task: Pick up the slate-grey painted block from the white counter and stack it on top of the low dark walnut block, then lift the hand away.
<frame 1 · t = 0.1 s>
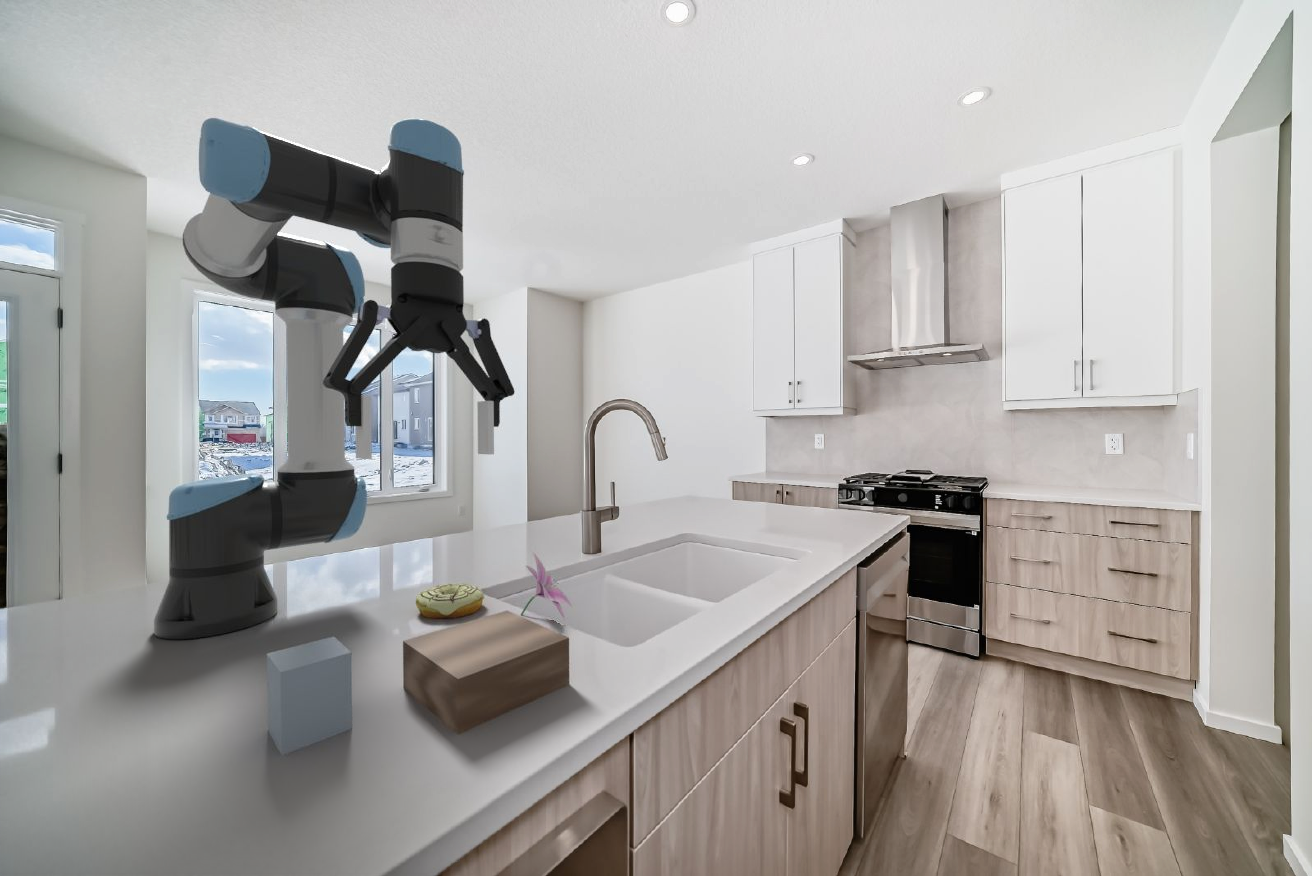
hand: (429, 456, 58), 28 cm above the countertop, fingers open, 13 cm apart
lily: (546, 615, 86), on the countertop
walnut block: (486, 688, 62), on the countertop
decorated donut: (450, 612, 88), on the countertop
slate block: (310, 729, 53), on the countertop
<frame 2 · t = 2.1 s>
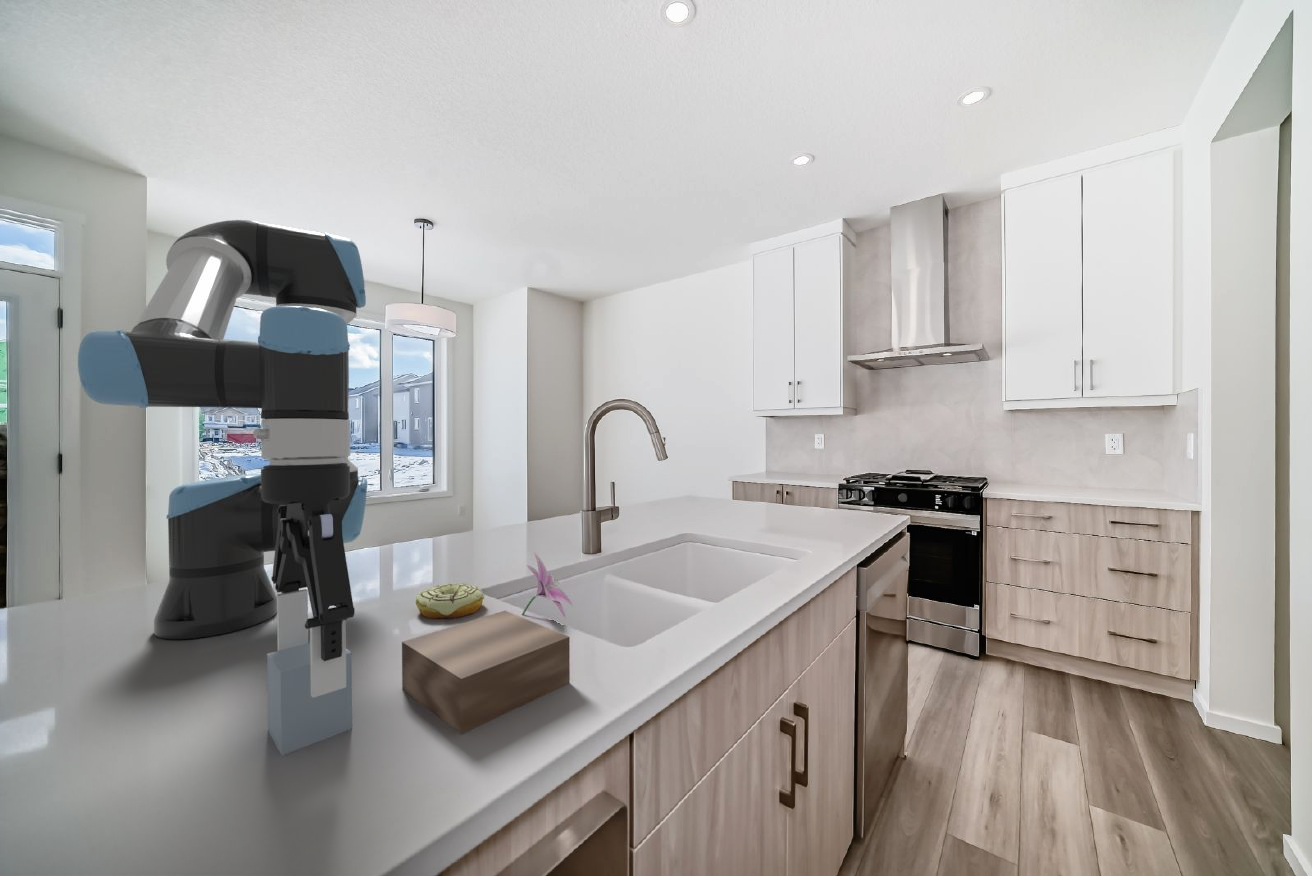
hand: (309, 669, 53), 6 cm above the countertop, fingers open, 13 cm apart
nothing on the countertop moved.
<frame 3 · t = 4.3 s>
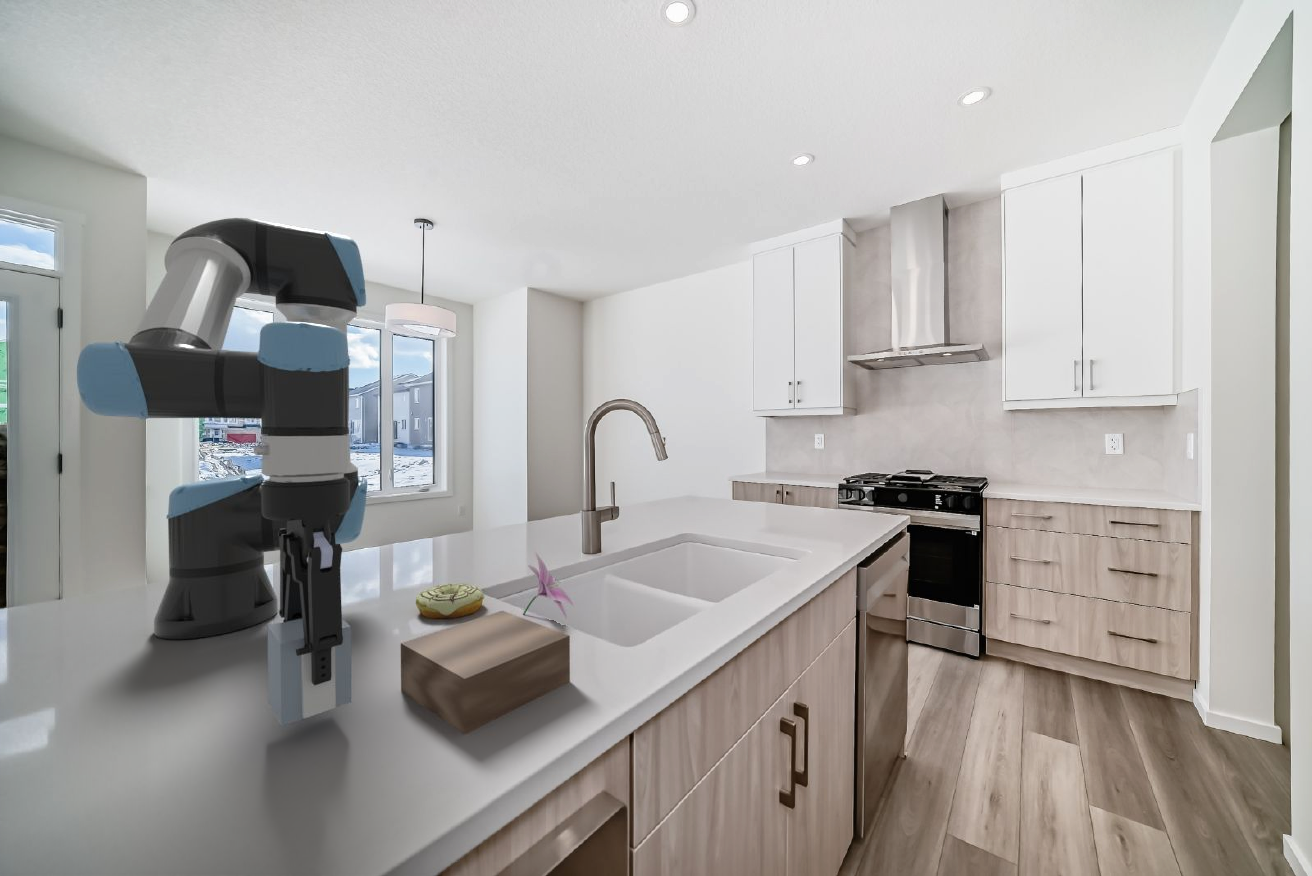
hand: (310, 698, 53), 3 cm above the countertop, fingers closed on slate block, 6 cm apart
slate block: (310, 702, 53), point 3 cm above the countertop, touching gripper
everything else where it was.
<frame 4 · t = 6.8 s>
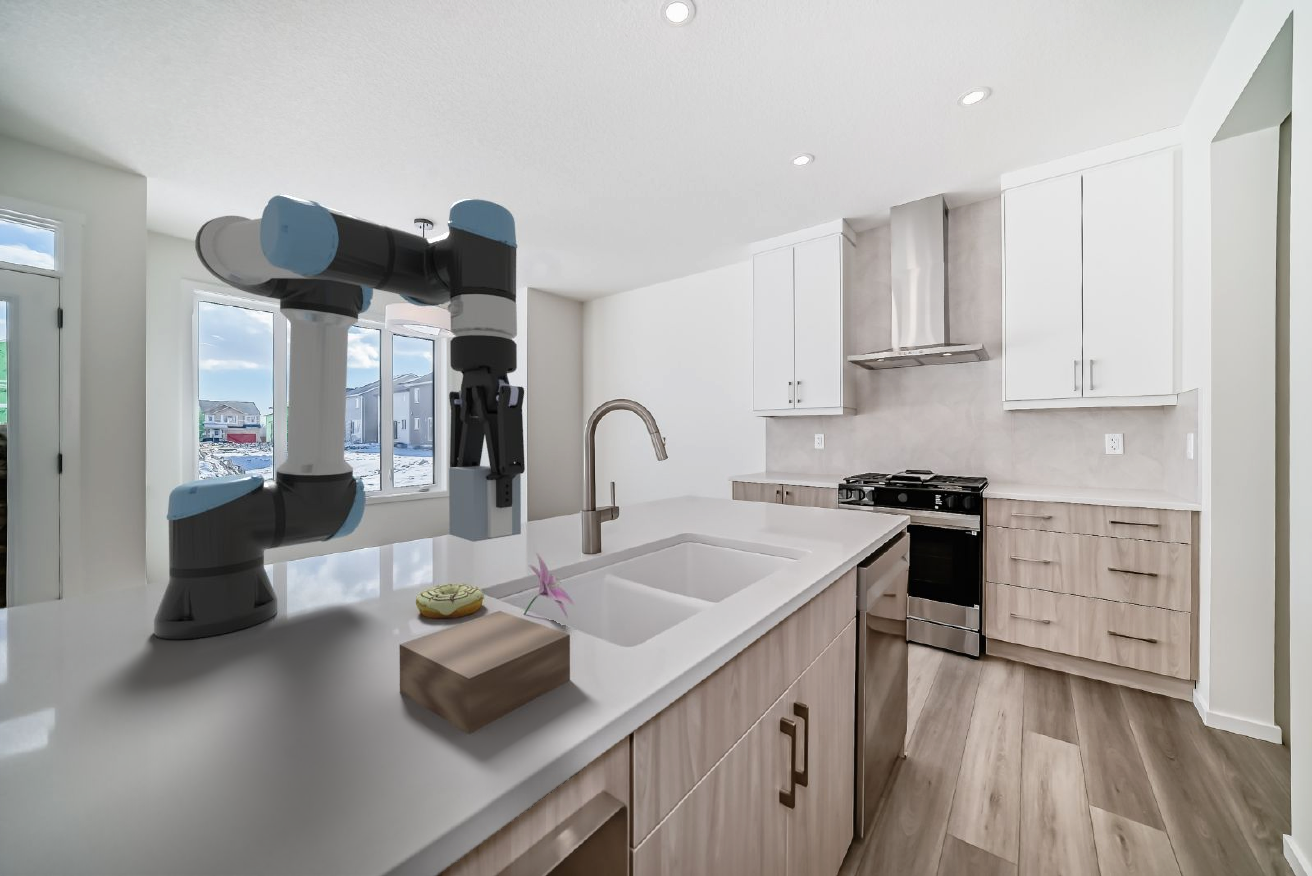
hand: (485, 531, 62), 19 cm above the countertop, fingers closed on slate block, 6 cm apart
slate block: (485, 534, 62), point 18 cm above the countertop, touching gripper
everything else where it was.
when the fingers open (7 cm above the countertop, at t = 9.6 s): slate block stays where it is, resting on walnut block.
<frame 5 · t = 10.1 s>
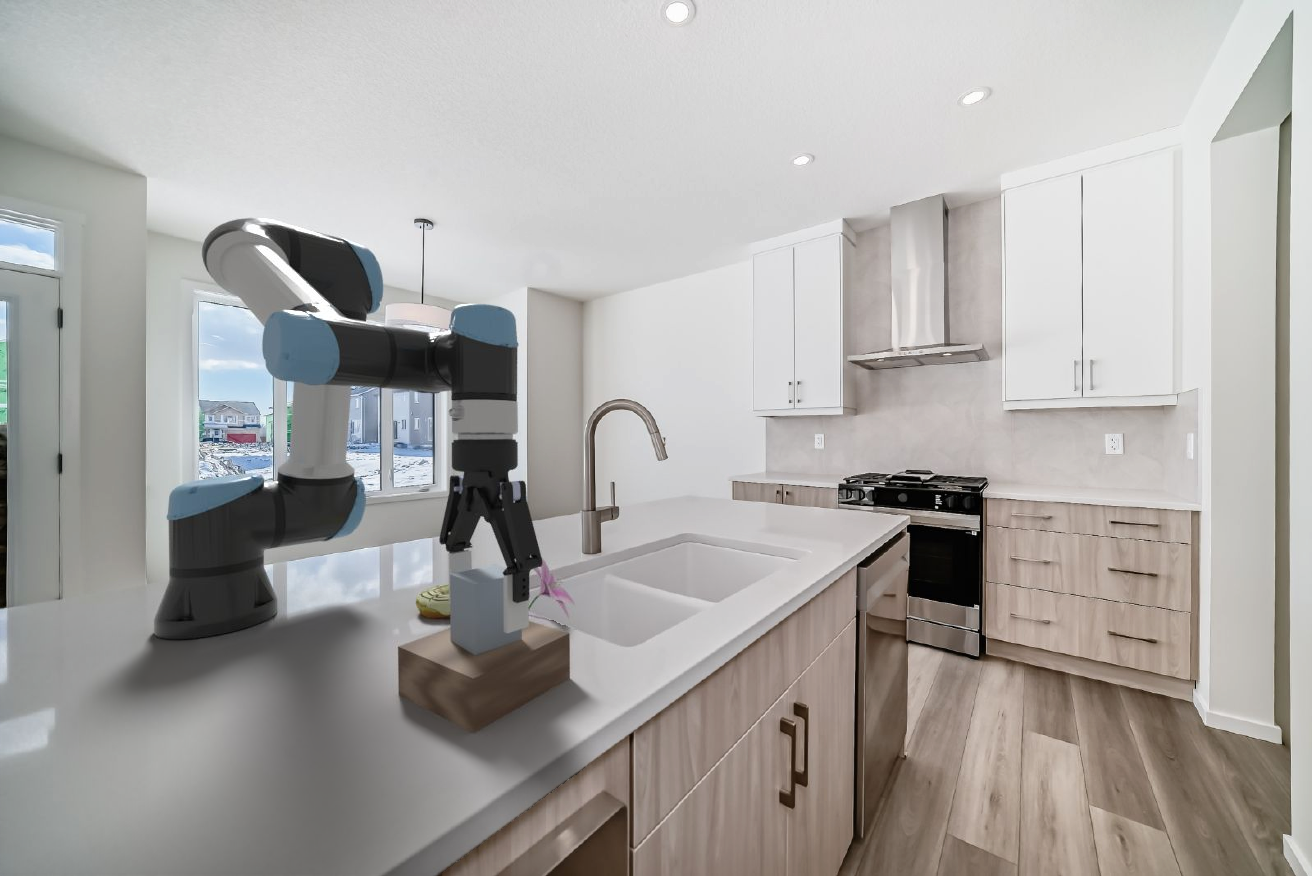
hand: (486, 614, 62), 9 cm above the countertop, fingers open, 13 cm apart
walnut block: (486, 688, 62), on the countertop, touching slate block
slate block: (486, 640, 62), point 6 cm above the countertop, touching walnut block
everything else where it was.
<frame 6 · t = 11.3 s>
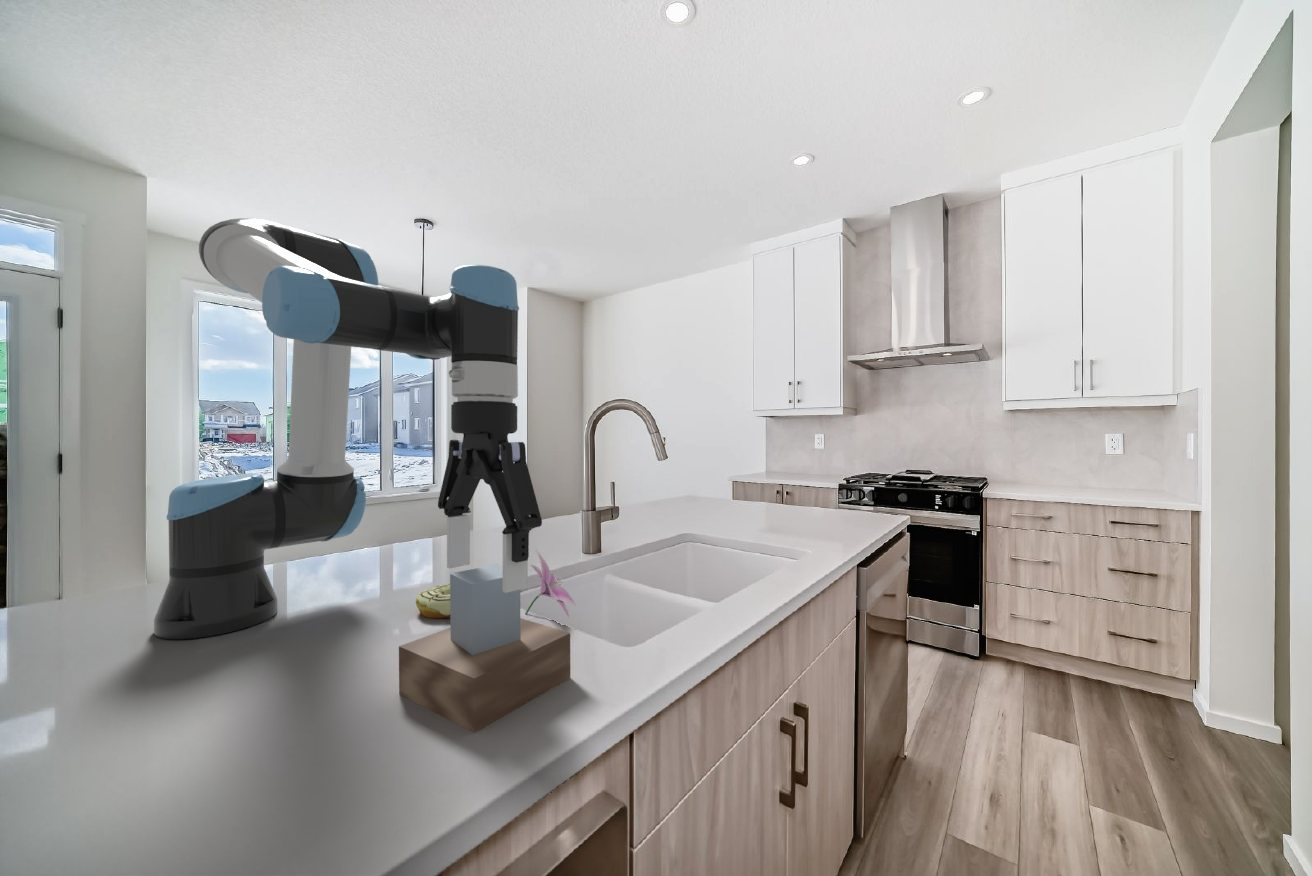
hand: (484, 577, 62), 13 cm above the countertop, fingers open, 13 cm apart
nothing on the countertop moved.
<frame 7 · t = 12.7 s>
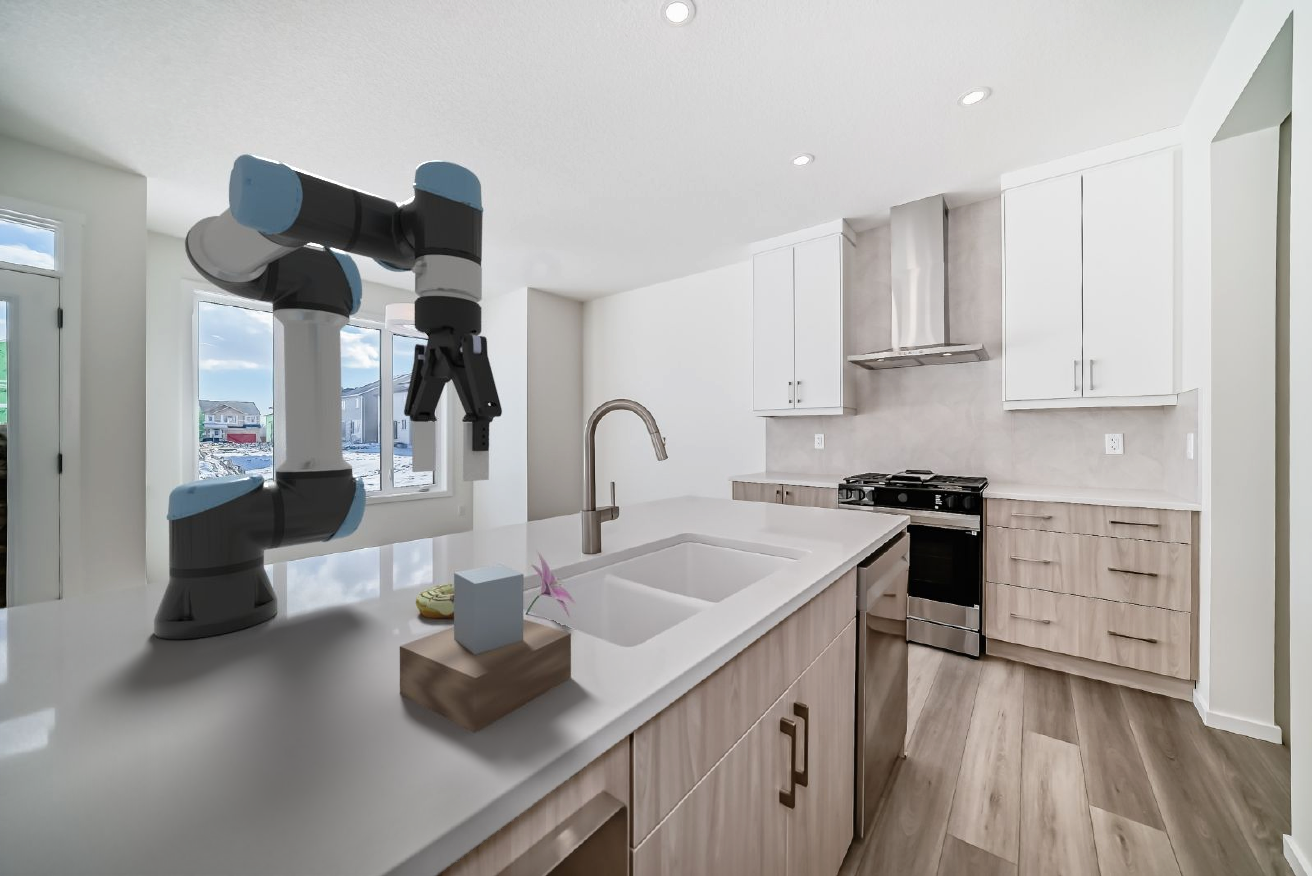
hand: (448, 475, 63), 25 cm above the countertop, fingers open, 13 cm apart
walnut block: (488, 688, 62), on the countertop
slate block: (488, 639, 62), point 6 cm above the countertop
everything else where it was.
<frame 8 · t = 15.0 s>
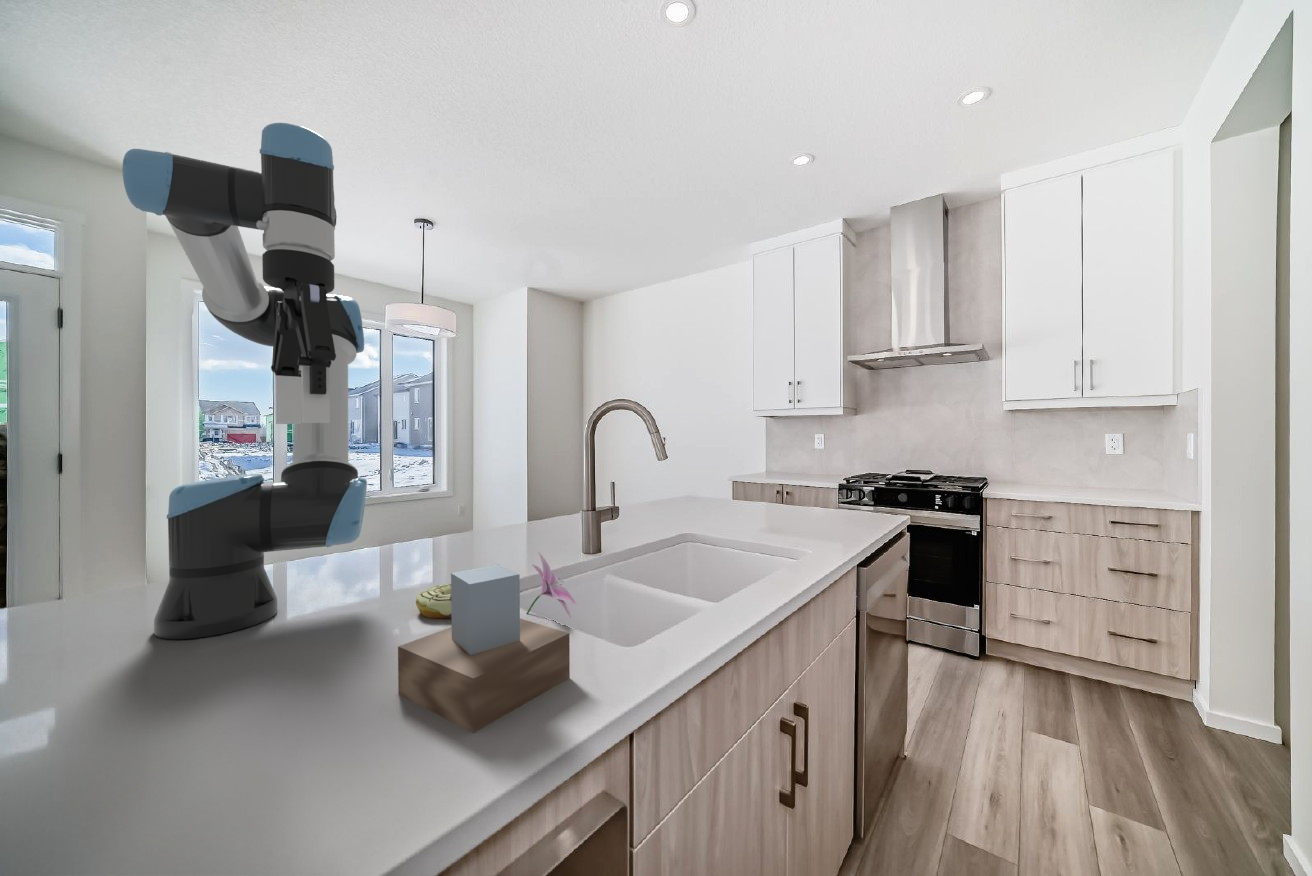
hand: (301, 423, 66), 32 cm above the countertop, fingers open, 13 cm apart
walnut block: (486, 688, 62), on the countertop, touching slate block
slate block: (485, 639, 62), point 6 cm above the countertop, touching walnut block
at the end: slate block inside the target area on the walnut block (0.1 cm from its centre), point 6.0 cm above the walnut block's base; slate block tilted 0°; the gripper is holding nothing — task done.
